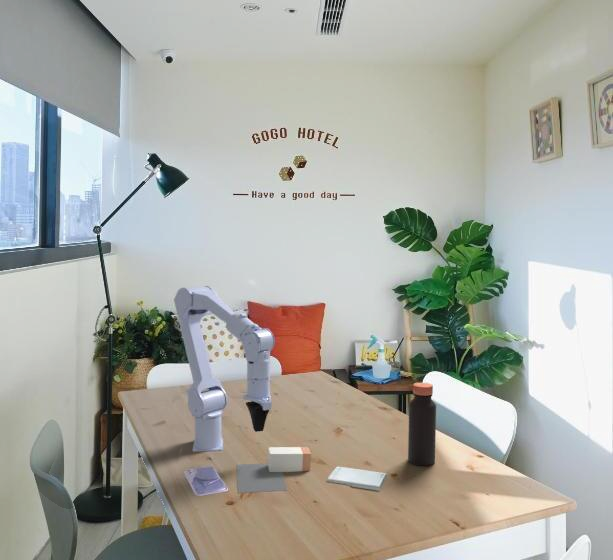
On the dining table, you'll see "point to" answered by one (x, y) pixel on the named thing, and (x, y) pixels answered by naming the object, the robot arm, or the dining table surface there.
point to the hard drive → (358, 478)
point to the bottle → (422, 426)
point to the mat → (259, 479)
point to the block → (289, 459)
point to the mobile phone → (205, 481)
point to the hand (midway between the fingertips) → (258, 430)
